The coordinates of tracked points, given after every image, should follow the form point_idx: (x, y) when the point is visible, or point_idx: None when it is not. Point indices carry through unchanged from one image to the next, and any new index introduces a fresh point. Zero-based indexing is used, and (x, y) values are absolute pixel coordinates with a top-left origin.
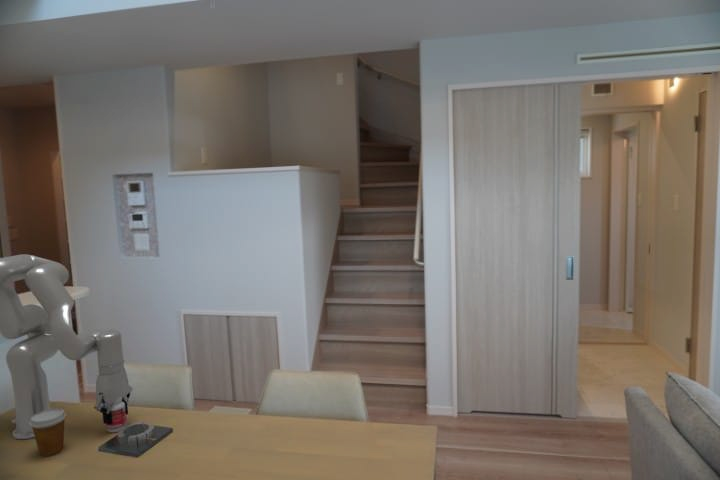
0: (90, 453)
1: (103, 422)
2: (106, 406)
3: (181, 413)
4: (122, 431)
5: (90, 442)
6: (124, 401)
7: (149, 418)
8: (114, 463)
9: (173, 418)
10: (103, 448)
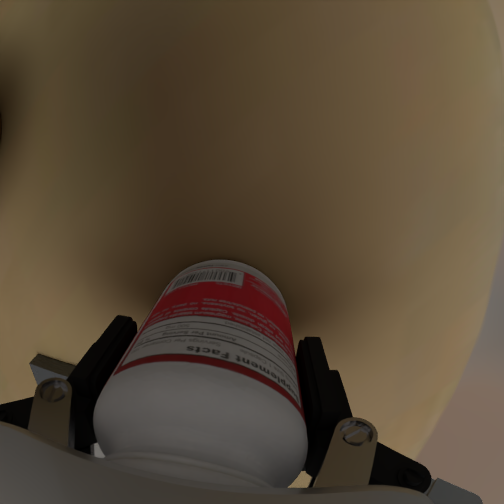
0: (16, 332)
1: (116, 317)
2: (104, 428)
3: None
4: (100, 455)
5: (55, 268)
6: (313, 475)
7: (362, 402)
8: None
9: None
10: (38, 384)
